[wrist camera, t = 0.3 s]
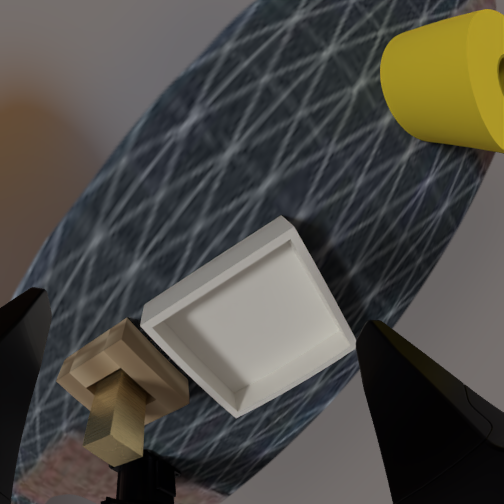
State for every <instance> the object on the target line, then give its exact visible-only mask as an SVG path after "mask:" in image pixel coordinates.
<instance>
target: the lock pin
mask: <svg viewBox="0 0 504 504" xmlns="http://www.w3.org/2000/svg"><path fill="white" fill-rule="evenodd" d="M146 397H147V391H146V390H145V389H144V388H142V387H141V386H140V385H139V384H138V383H137V382H136V381H135V380H133V379H132V378H131V377H130V376H129V375H128V374H127V373H126V372H125V371H124V370H123V369H122V368H119V369H118V370H116V371H114V372H112V373H111V374H109V375H107V376H106V377H104V378H102V379H100V380H99V381H98V383H97V387H96V391H95V394H94V398H93V402H92V406H91V411H90V415H89V419H88V423H87V428H86V432H85V437H84V442H83V447H84V448H86V449H87V450H89V451H90V452H92V453H93V454H95V455H96V456H98V457H99V458H101V459H102V460H104V461H105V462H107V463H108V464H110V465H112V466H113V467H116V466H119V465H121V464H124V463H127V462H130V461H133V460H135V459H138V458H141V457H143V439H144V423H145V409H146Z"/></svg>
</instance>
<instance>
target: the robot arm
mask: <svg viewBox="0 0 504 504" xmlns="http://www.w3.org/2000/svg"><path fill="white" fill-rule="evenodd" d="M51 318H52V313H51V308H50V304H49V299H48V294H47V291H46V290H45V289H42V288H37V287H32V288H30V289H28V290H27V291H25V292H24V293H22V294H21V295H19V296H18V297H16V298H14V299H13V300H11V301H10V302H8V303H7V304H6V305H4V306H3V307H1V308H0V504H11V496H12V488H13V481H14V475H15V469H16V463H17V458H18V453H19V448H20V443H21V438H22V434H23V429H24V425H25V421H26V417H27V413H28V409H29V405H30V402H31V398H32V395H33V391H34V388H35V384H36V381H37V378H38V374H39V371H40V367H41V363H42V358H43V353H44V349H45V344H46V340H47V336H48V332H49V328H50V324H51ZM356 351H357V356H358V361H359V367H360V372H361V377H362V383H363V387H364V392H365V395H366V399H367V402H368V406H369V410H370V413H371V417H372V421H373V424H374V428H375V432H376V435H377V439H378V443H379V447H380V451H381V455H382V459H383V463H384V467H385V471H386V475H387V479H388V483H389V488H390V492H391V497H392V501H393V504H504V412H502V411H501V410H499V409H498V408H496V407H495V406H493V405H492V404H490V403H489V402H488V401H486V400H485V399H483V398H482V397H481V396H479V395H478V394H477V393H475V392H474V391H473V390H471V389H470V388H469V387H468V386H466V385H464V384H463V383H462V382H461V381H460V380H458V379H457V378H456V377H454V376H453V375H452V374H451V373H449V372H448V371H447V370H445V369H444V368H443V367H442V366H440V365H439V364H438V363H436V362H435V361H434V360H432V359H431V358H430V357H428V356H427V355H426V354H425V353H423V352H422V351H421V350H419V349H418V348H417V347H415V346H414V345H413V344H411V343H410V342H409V341H407V340H406V339H405V338H403V337H402V336H401V335H399V334H398V333H397V332H395V331H394V330H393V329H391V328H390V327H389V326H387V325H386V324H385V323H383V322H382V321H380V320H368V321H367V322H366V323H365V325H364V327H363V329H362V330H361V332H360V334H359V336H358V338H357V340H356ZM109 467H110V468H111V469H113V470H114V471H116V472H118V480H117V494H116V499H113V498H111V497H106V500H105V501H101V504H174V497H176V488H175V478H176V477H179V476H181V472H180V471H178V470H177V469H175V468H173V467H172V466H170V465H168V464H167V463H165V462H163V461H162V460H160V459H159V458H157V457H156V456H154V455H152V454H151V453H149V452H148V451H143V457H141V458H138V459H135V460H133V461H130V462H127V463H124V464H121V465H119V466H116V467H113V466H112V465H110V464H109Z"/></svg>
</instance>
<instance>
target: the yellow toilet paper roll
mask: <svg viewBox="0 0 504 504" xmlns="http://www.w3.org/2000/svg"><path fill="white" fill-rule="evenodd" d="M380 77H381V85H382V90H383V94H384V97H385V100H386V102H387V105H388V107H389V109H390V111H391V113H392V114H393V116H394V117H395V119H396V120H397V122H398V123H399V124H400V125H401V126H402V127H403V128H404V129H405V130H406V131H407V132H408V133H409V134H411V135H412V136H414V137H415V138H417V139H420V140H423V141H427V142H435V143H443V144H450V145H457V146H464V147H470V148H476V149H482V150H488V151H494V152H499V153H504V15H502V14H501V13H499V12H497V11H494V10H490V9H484V10H480V11H476V12H472V13H468V14H464V15H460V16H456V17H452V18H449V19H445V20H442V21H438V22H435V23H432V24H429V25H425V26H422V27H419V28H416V29H413V30H410V31H407V32H404V33H401V34H399V35H397V36H396V37H394V38H393V39H392V40H391V41H390V42H389V43H388V45H387V47H386V48H385V50H384V53H383V56H382V60H381V67H380Z"/></svg>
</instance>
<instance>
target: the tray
mask: <svg viewBox="0 0 504 504" xmlns="http://www.w3.org/2000/svg"><path fill="white" fill-rule="evenodd" d="M140 326H141V327H142V329H143V330H144V331H145V332H146V333H147V334H148V335H149V336H150V337H151V338H152V339H153V340H154V341H155V342H156V343H157V344H158V345H159V346H160V347H161V349H162V350H163V351H164V352H165V353H166V354H167V355H168V356H169V357H170V358H171V359H172V360H173V361H174V362H175V363H176V364H177V365H178V366H179V367H180V368H181V369H183V370H184V371H185V372H186V373H187V374H188V375H189V376H190V377H191V378H192V379H193V380H194V381H195V382H196V383H197V384H198V385H199V386H200V387H201V388H203V389H204V390H205V391H206V392H207V393H208V394H209V395H210V396H211V397H212V398H213V399H215V400H216V401H217V402H218V403H219V404H220V405H221V406H222V407H224V408H225V409H226V410H227V411H228V412H229V413H231V414H232V415H233V416H234V417H235V418H238V417H240V416H241V415H243V414H245V413H247V412H249V411H251V410H253V409H255V408H257V407H259V406H261V405H263V404H264V403H266V402H268V401H270V400H272V399H274V398H275V397H277V396H279V395H281V394H283V393H284V392H286V391H288V390H290V389H291V388H293V387H295V386H296V385H298V384H300V383H302V382H303V381H305V380H307V379H308V378H310V377H312V376H313V375H315V374H317V373H318V372H320V371H321V370H323V369H325V368H326V367H328V366H329V365H331V364H332V363H334V362H336V361H337V360H339V359H340V358H342V357H343V356H345V355H346V354H348V353H349V352H351V351H352V350H354V349H355V348H356V339H355V337H354V335H353V333H352V331H351V329H350V327H349V325H348V324H347V322H346V320H345V318H344V316H343V314H342V312H341V310H340V308H339V307H338V305H337V303H336V301H335V299H334V297H333V295H332V294H331V292H330V290H329V288H328V286H327V284H326V282H325V281H324V279H323V277H322V275H321V273H320V272H319V270H318V268H317V266H316V264H315V263H314V261H313V259H312V257H311V255H310V254H309V252H308V250H307V248H306V247H305V245H304V243H303V241H302V239H301V238H300V236H299V234H298V232H297V231H296V229H295V227H294V226H293V225H292V224H291V223H290V222H288V221H287V220H286V219H285V218H284V217H283V216H282V215H281V216H279V217H278V218H276V219H275V220H273V221H272V222H270V223H268V224H267V225H265V226H264V227H262V228H261V229H259V230H258V231H256V232H254V233H253V234H251V235H250V236H248V237H247V238H245V239H244V240H242V241H241V242H239V243H237V244H236V245H234V246H233V247H231V248H230V249H228V250H227V251H225V252H224V253H222V254H221V255H219V256H217V257H216V258H214V259H213V260H211V261H210V262H208V263H207V264H205V265H204V266H202V267H201V268H199V269H198V270H196V271H195V272H193V273H191V274H190V275H188V276H187V277H185V278H184V279H182V280H181V281H179V282H178V283H176V284H175V285H173V286H172V287H170V288H169V289H167V290H166V291H164V292H163V293H161V294H160V295H158V296H157V297H155V298H154V299H152V300H151V301H149V302H148V303H146V304H145V305H144V309H143V313H142V318H141V323H140Z"/></svg>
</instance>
